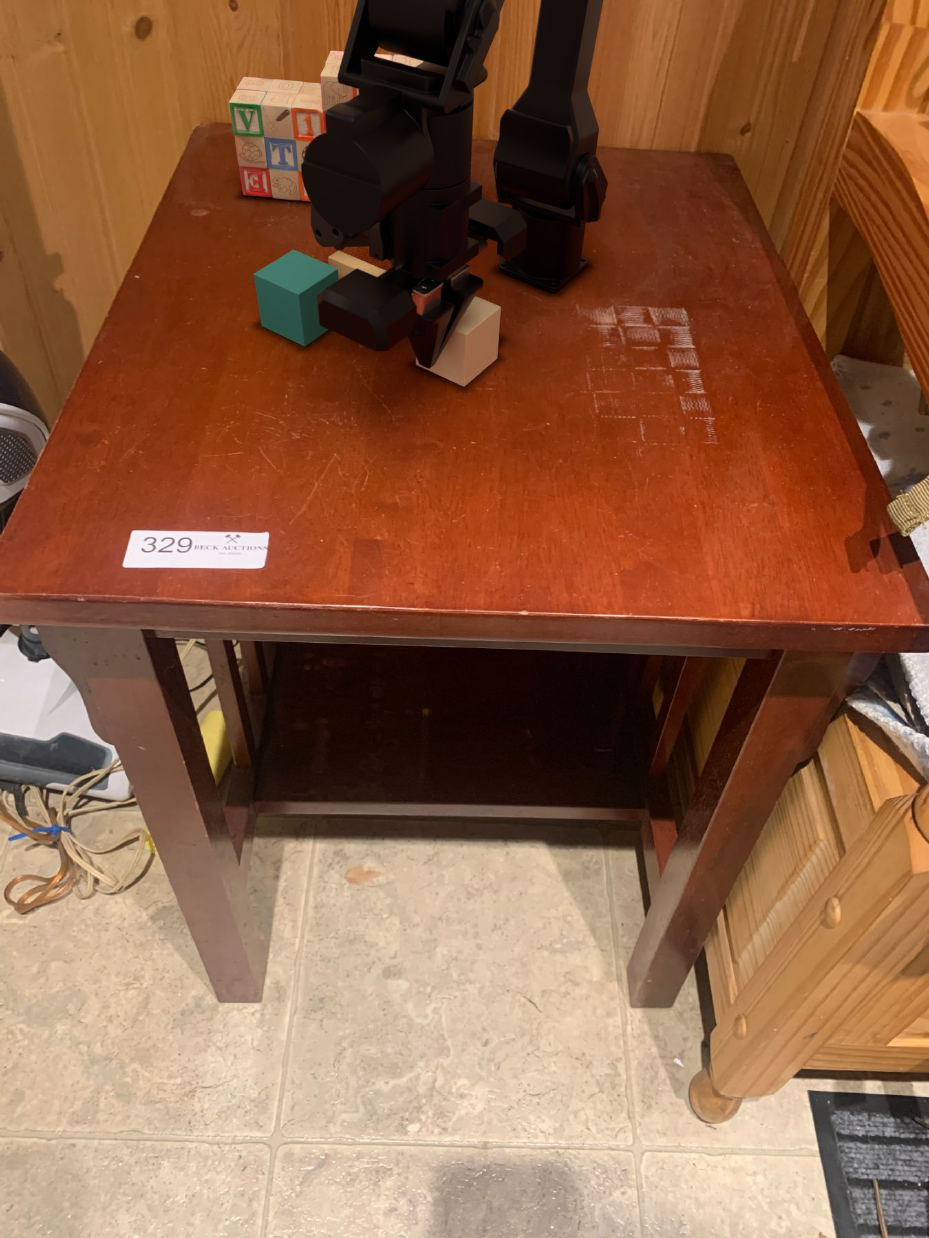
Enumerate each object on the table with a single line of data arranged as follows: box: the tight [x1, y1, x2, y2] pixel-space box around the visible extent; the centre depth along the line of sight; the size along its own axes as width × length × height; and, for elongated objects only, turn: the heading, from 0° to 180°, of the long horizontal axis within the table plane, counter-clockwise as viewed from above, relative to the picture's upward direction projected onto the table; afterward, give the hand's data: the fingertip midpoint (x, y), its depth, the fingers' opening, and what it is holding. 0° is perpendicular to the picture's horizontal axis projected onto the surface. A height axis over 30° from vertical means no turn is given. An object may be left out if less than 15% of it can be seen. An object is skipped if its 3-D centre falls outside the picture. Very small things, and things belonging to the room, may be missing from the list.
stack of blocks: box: [228, 50, 424, 203], centre depth 91 cm, size 21×6×12 cm, turn 84°
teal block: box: [253, 249, 339, 347], centre depth 79 cm, size 5×5×5 cm
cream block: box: [415, 295, 502, 388], centre depth 76 cm, size 5×5×5 cm
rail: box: [327, 250, 387, 279], centre depth 82 cm, size 18×2×2 cm, turn 55°
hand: (426, 365), depth 74 cm, fingers closed
